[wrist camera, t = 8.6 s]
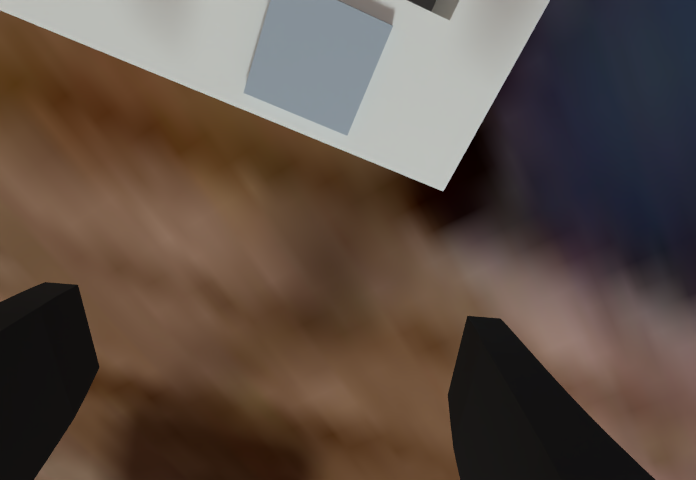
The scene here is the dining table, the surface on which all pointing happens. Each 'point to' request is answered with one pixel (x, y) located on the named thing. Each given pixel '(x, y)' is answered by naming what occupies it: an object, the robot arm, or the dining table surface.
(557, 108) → the dining table surface
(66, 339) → the robot arm
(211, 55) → the socket block
